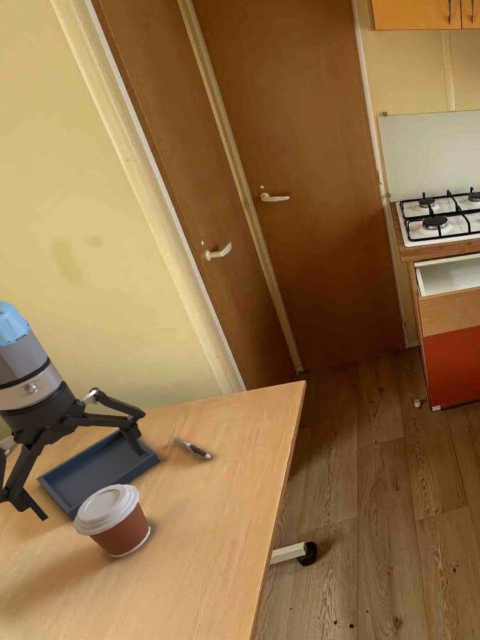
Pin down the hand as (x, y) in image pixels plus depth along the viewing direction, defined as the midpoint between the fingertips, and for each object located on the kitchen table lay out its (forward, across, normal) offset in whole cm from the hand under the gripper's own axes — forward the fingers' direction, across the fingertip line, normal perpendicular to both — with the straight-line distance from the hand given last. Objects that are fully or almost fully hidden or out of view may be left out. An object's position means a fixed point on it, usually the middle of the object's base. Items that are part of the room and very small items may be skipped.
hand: (94, 481), depth 75 cm
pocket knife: (+17, +16, +11) cm, 26 cm away
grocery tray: (+17, +4, +22) cm, 28 cm away
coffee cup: (+17, -1, 0) cm, 17 cm away
